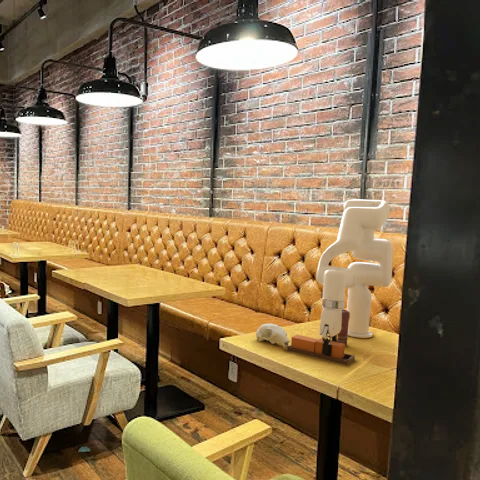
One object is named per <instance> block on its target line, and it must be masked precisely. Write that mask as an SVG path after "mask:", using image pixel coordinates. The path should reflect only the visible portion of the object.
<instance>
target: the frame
mask: <svg viewBox="0 0 480 480" xmlns="http://www.w3.org/2000/svg"><path fill="white" fill-rule="evenodd" d="M286 351H287V352H291V353H295V354H299V355H303V356H307V357H312V358H316V359H319V360H323V361H327V362H332V363H336V364H340V365H344V366H348V365H350V364H351V363H352V362H354V361H355V359H356V355H354V354H350V353H345V352H344V357H343V358H342V359H339V358H335V357H331V356H326V355H322V354H318V353H314V352H310V351H306V350H301V349H297V348H293V347H291V344H290V345H288V347H287V349H286Z"/></svg>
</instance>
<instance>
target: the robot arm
mask: <svg viewBox="0 0 480 480" xmlns="http://www.w3.org/2000/svg"><path fill="white" fill-rule="evenodd" d="M390 212H391V206H390V204H389V202H387V201H386V200H382V199H381V200H380V199H363V198H361V199H357V198H356V199H347V200H345V202H344V203H343V212H342V216H341V221H340V225H339V228H338V234H337V238H336V241H334V242H333V243H332V244H330V245H329V246H328V247H327V248H326V249H325V250H324V251H323V252H322V254H321V256H320V258H319V261H318V264H317V269H316V278H315V279H316V281H317V283H318V284H320V285H322V298H321V308H322V309H321V313H320V319H319V320H320V321H319V329H318V334H319V335H320V336H321V339H322V340H323V342H322V343H323V346H322V354H324V355H328V356H331V353H332V345H331V341H335V342H338V333H340V331H341V325H342V310H345V297H346V290H347V298H346V299H347V301H346V311H349V312H350V319H349V324H348V336H347V337H352V338H358V339H368V338H369V339H370V338H372V337H373V332H372V331H370V320H371V308H372V292H371V291H370V289H369V288H368V287H367V286H371V287H379V288H386V287H389V286H390V285H391V283H392V277H393V258H394V247H393V244H392V241H390V240H389V239H385V238H376V237H375V231H378V230H380V229H381V228H382V227H383V226H384V224H386V222H387V220H388V218H389V216H390ZM350 252H351V255H352V257H353V258H354V259H357V260H360V261H354V262H351V263H349V265H348V266H347V267H341V266H333V265H329V264H330V262H331V261H332V260H333V259H334V258H336V257H338V256H340V255H343V254H346V253H350ZM361 260H362V261H361ZM365 261H369V262H365ZM375 262H378V263H375Z"/></svg>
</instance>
